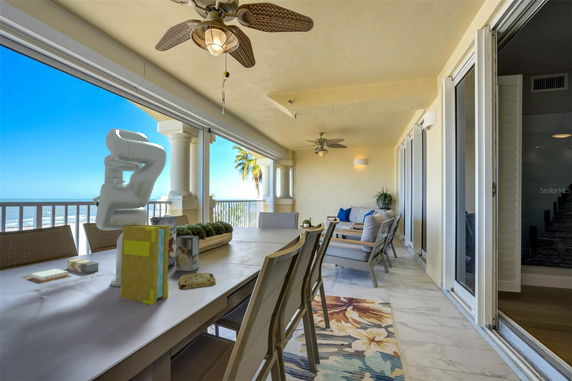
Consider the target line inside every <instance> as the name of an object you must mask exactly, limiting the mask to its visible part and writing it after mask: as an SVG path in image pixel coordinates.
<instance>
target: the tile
mask: <svg viewBox="0 0 572 381" xmlns="http://www.w3.org/2000/svg"><path fill="white" fill-rule="evenodd" d="M30 275H31V279H34V280H37V281H40V282H45V281H49V280H54V279H58V278H62V277H67V276H68V275H69V271H67V270H63V269H59V268H53V269H47V270H42V271H37V272H33V273H30Z"/></svg>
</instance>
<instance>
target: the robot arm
mask: <svg viewBox="0 0 572 381" xmlns="http://www.w3.org/2000/svg"><path fill="white" fill-rule="evenodd" d="M105 144H106V148H107V149H108V151H109V154H107V155H106V156H105V157H104V159H103V164H104V183H102V185H101V188H100V191H99V195H98V196H96V197H93V198H92V202H93V203H94V205H95V206H96V207H97V210H96V213H95V214H96V215H95V226H96V228H97V229H98V230H101V231H114V230H115V231H117V230H123V225H134V224H140V225H147V222H148V221H147V220H148V211H147V210H146V209H145V207H146V206H147V205H148V204H149V201H150V200H151V199H150V198H151V195H152V193H153V191H154V187H155V183H156V182H157V180H158V178H160V175H161V174H162V173H163V171H164V169H165V166H166V162H167V152H166V150H165V148H164V147H162V146H161V145H159V144H156V143H152V142H150V141H149V138H148V137H147V136H146V135H145V134H143V133H140V132H137V131H133V130H132V131H131V130H127V129H121V128H116V127H115V128H112V129H110V130H109V131H108V132H107V133H106V135H105ZM124 172H130V173H131V175H130V177H129V181H128V183H127V184H124V183H126V180H124ZM132 172H133V173H132ZM122 236H123V231H122V233H121V234H120V235H119V236H118V238H117V240H116V256H115V259H116V261H115V262H116V264H115V268H116V269H115V278H113V279H111V281H110V286H113V287H116V288H117V287H120V288H121V264H122Z"/></svg>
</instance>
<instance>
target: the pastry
mask: <svg viewBox="0 0 572 381" xmlns="http://www.w3.org/2000/svg"><path fill="white" fill-rule="evenodd" d="M216 281H217V280H216V278H215V277H214V274H213V273H209V272H199V273H191V274H185V275H181V276H180V278H178V286H179V287H178V288H179V289H180V290H182V291H183V290H190V289H199V288H206V287H207V288H208V287H213V286H215V285H216V284H217V283H216Z"/></svg>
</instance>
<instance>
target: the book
mask: <svg viewBox="0 0 572 381" xmlns="http://www.w3.org/2000/svg"><path fill="white" fill-rule="evenodd" d="M122 232H123V236H122V264H121V287H120V295H119V296H120V298H121V299H124V300H130V301H136V302H140V303H143V304H146V305H150V306H151V305H152V306H153V305H155V304H156V303H158V299H162V300H165V299H167V298H169V285H170V284H169V282H168V281H169V267H168V248H169V239H170V226H163V225H161V226H159V225H152V224H146V225H140V224H134V225H123V229H122Z"/></svg>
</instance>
